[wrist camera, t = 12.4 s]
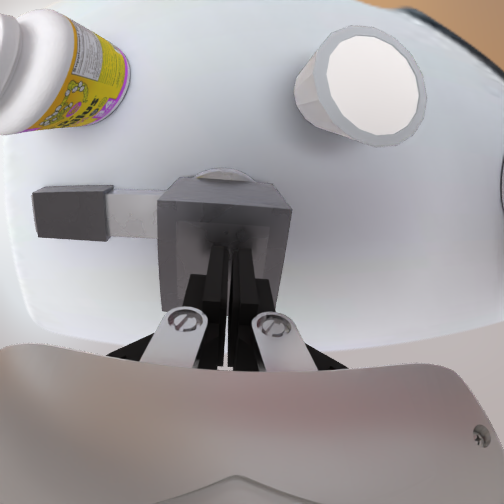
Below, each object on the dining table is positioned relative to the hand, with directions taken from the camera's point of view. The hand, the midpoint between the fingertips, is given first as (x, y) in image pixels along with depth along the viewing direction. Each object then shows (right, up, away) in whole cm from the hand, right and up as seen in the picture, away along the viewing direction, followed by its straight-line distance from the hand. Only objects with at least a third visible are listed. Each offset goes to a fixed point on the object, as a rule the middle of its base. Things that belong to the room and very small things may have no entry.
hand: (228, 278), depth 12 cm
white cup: (+7, +13, +5) cm, 15 cm away
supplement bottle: (-11, +14, +3) cm, 18 cm away
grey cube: (-1, +3, +7) cm, 7 cm away
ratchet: (-7, +4, +8) cm, 12 cm away
